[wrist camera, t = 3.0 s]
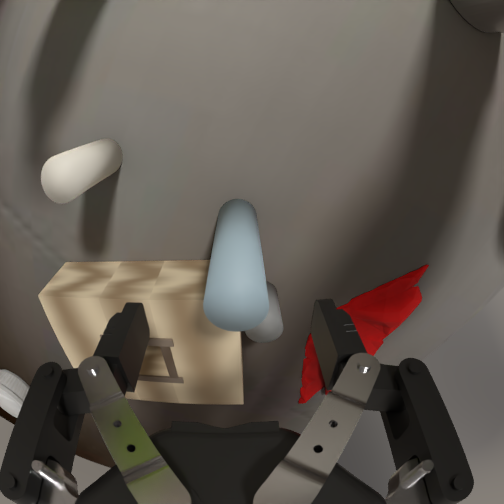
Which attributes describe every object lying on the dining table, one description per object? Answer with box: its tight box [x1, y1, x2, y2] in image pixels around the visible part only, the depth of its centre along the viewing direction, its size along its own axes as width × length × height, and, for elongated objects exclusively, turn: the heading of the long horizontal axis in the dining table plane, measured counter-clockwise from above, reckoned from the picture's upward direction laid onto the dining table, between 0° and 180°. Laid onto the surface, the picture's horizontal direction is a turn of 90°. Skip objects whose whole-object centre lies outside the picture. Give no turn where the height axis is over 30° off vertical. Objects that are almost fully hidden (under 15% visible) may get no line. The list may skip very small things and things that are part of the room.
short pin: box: [245, 281, 283, 343], centre depth 26 cm, size 3×3×5 cm
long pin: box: [203, 199, 269, 332], centre depth 20 cm, size 3×3×12 cm
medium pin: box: [41, 138, 123, 204], centre depth 18 cm, size 3×3×8 cm
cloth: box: [299, 265, 429, 404], centre depth 32 cm, size 26×14×2 cm, turn 140°
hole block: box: [38, 260, 244, 404], centre depth 27 cm, size 18×14×6 cm
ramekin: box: [0, 369, 30, 418], centre depth 36 cm, size 11×11×5 cm
